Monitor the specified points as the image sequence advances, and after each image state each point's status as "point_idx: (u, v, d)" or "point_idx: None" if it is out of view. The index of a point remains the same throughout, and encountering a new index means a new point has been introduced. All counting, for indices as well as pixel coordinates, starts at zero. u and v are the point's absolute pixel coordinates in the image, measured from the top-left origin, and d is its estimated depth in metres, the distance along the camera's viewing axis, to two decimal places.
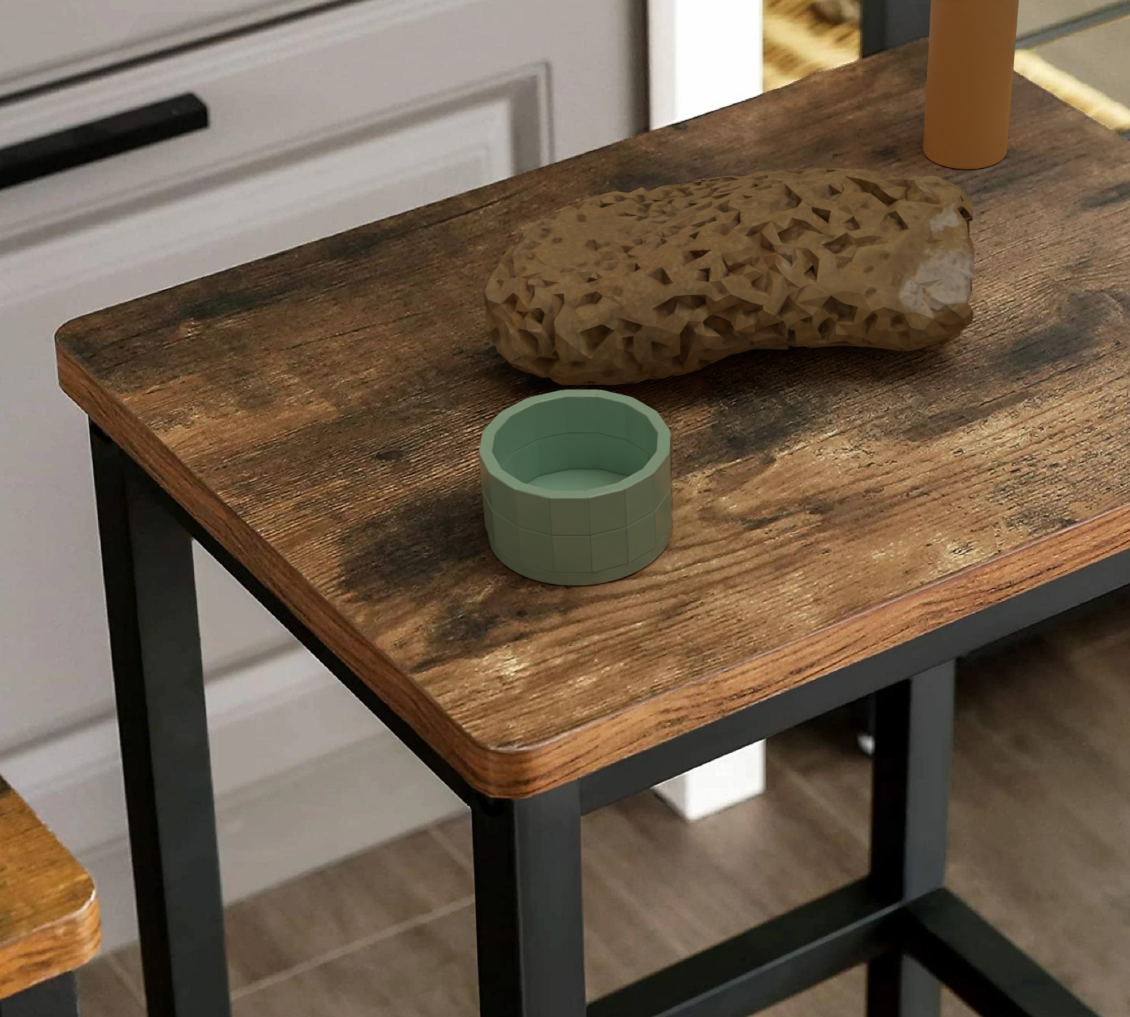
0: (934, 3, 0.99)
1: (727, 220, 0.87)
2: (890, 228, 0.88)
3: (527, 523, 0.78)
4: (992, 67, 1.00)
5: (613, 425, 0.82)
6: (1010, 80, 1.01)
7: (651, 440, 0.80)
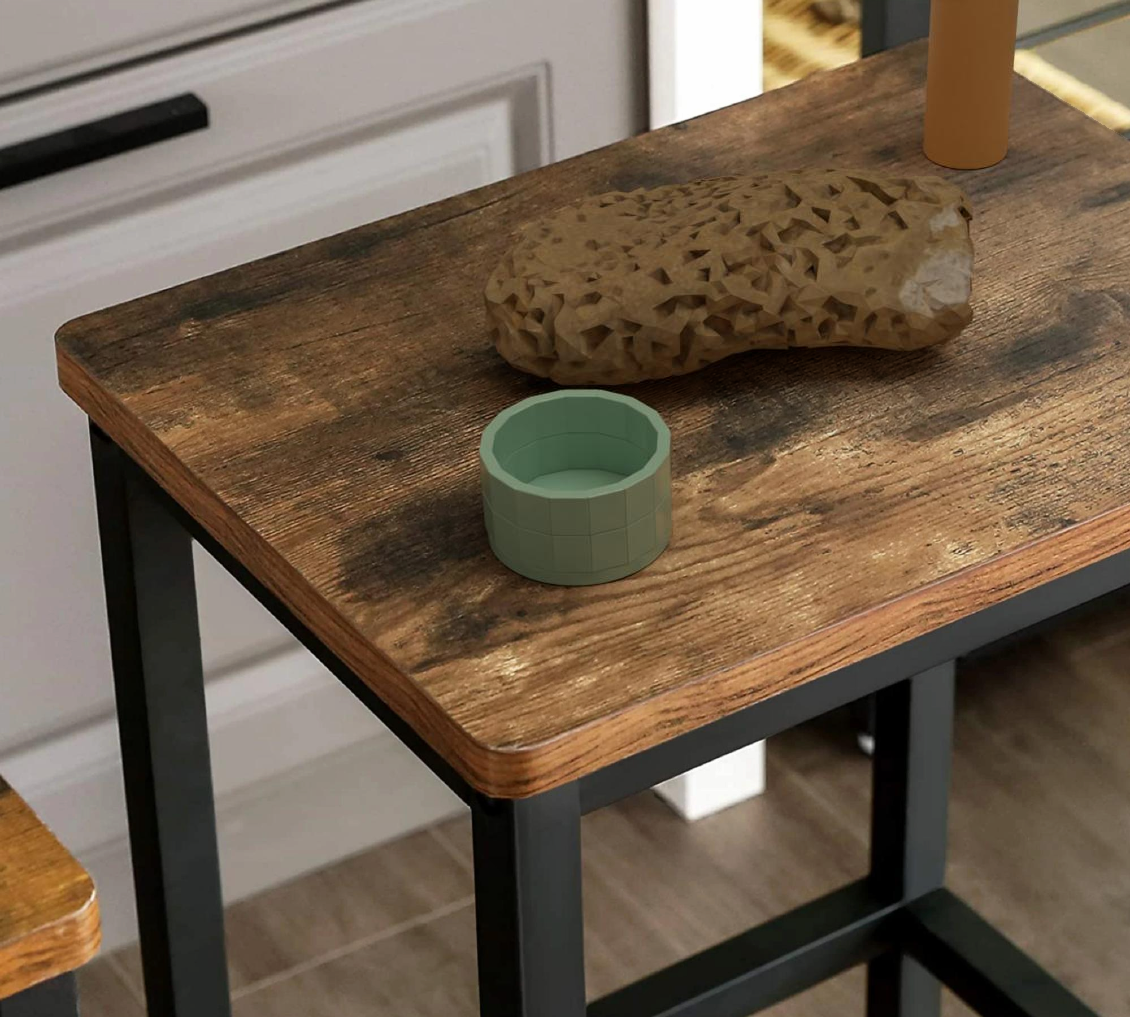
0: (934, 3, 0.99)
1: (727, 220, 0.87)
2: (890, 228, 0.88)
3: (527, 523, 0.78)
4: (992, 67, 1.00)
5: (613, 425, 0.82)
6: (1010, 80, 1.01)
7: (651, 440, 0.80)
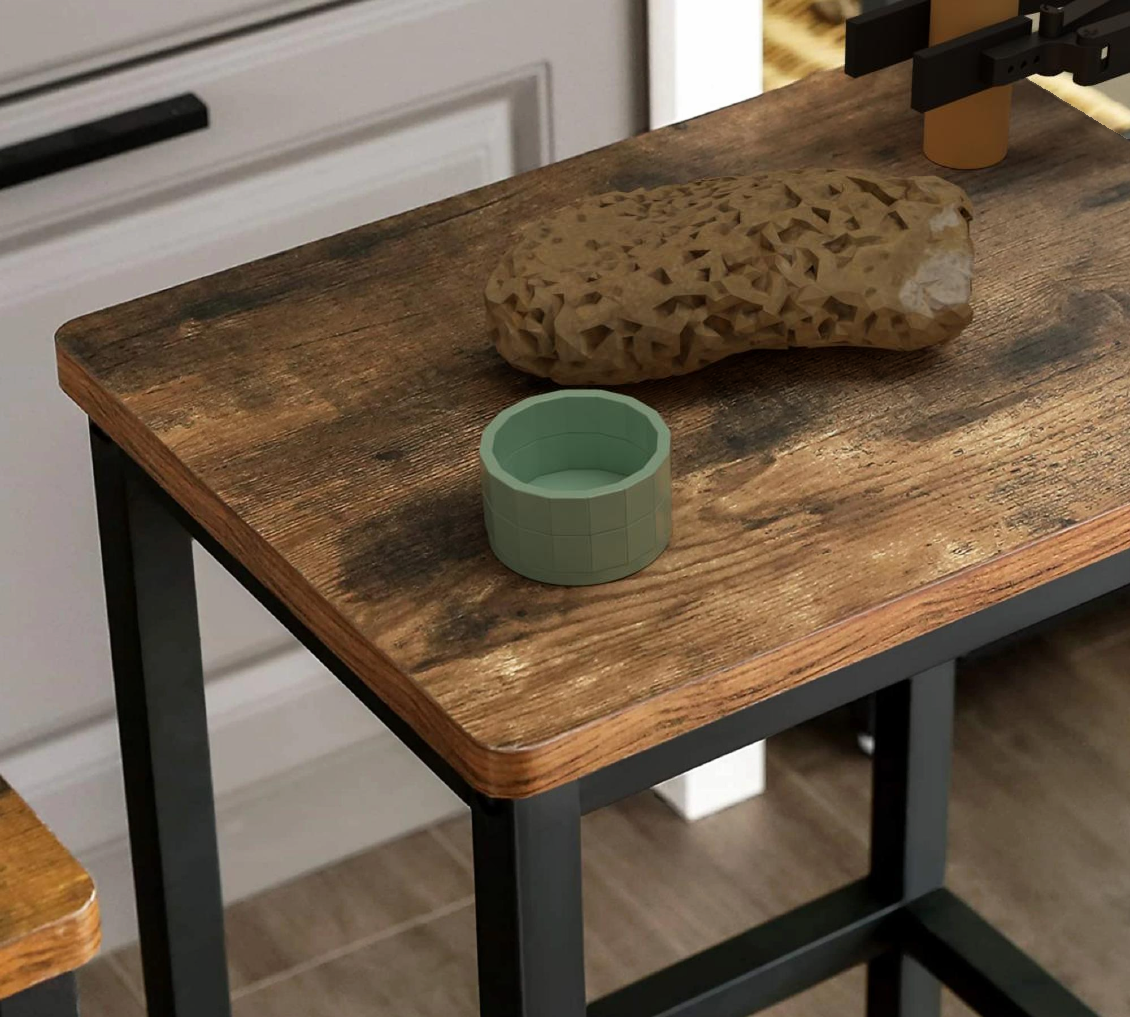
0: (934, 3, 0.99)
1: (727, 220, 0.87)
2: (890, 228, 0.88)
3: (527, 523, 0.78)
4: None
5: (613, 425, 0.82)
6: None
7: (651, 440, 0.80)
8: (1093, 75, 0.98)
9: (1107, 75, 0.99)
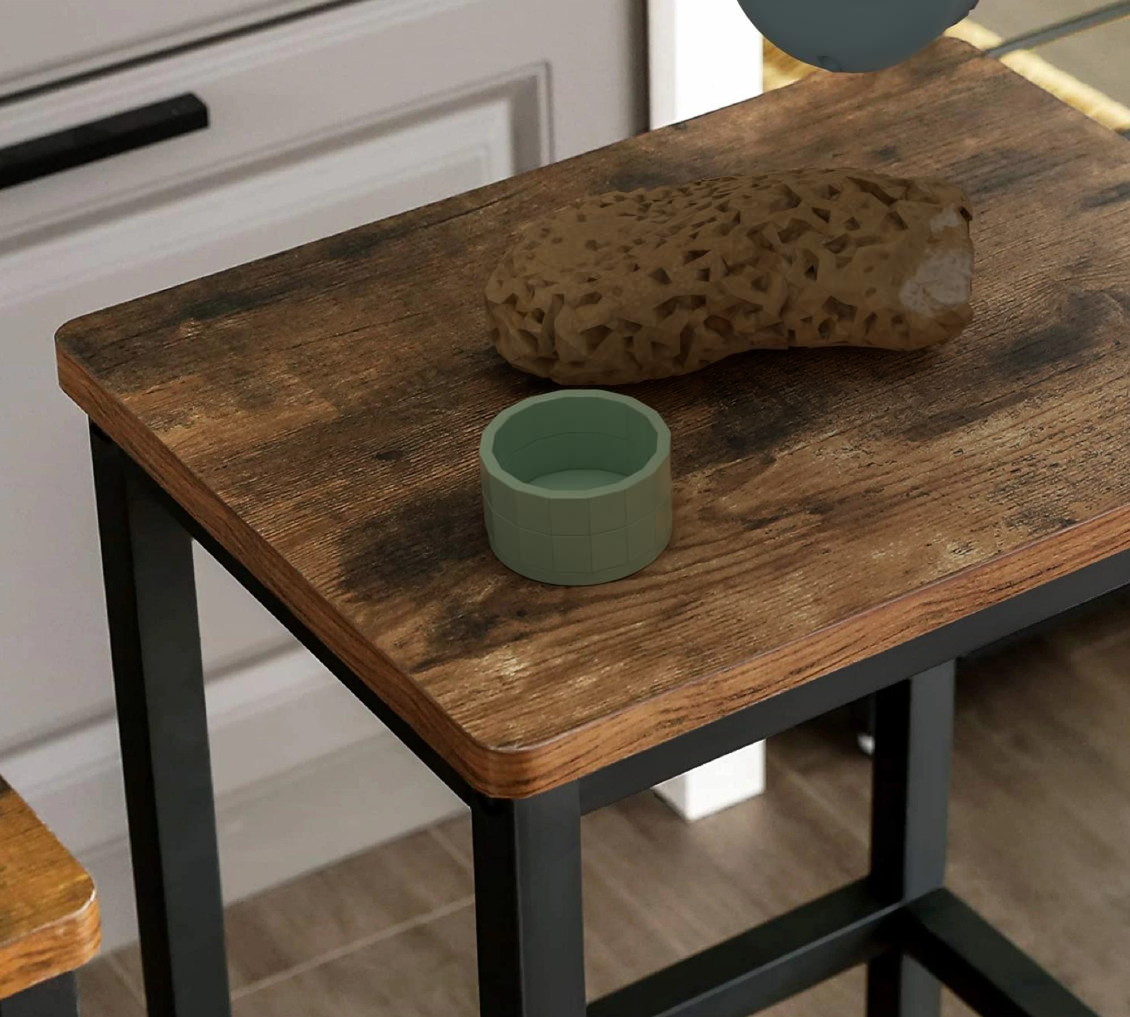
0: None
1: (727, 220, 0.87)
2: (890, 228, 0.88)
3: (527, 523, 0.78)
4: None
5: (613, 425, 0.82)
6: None
7: (651, 440, 0.80)
8: None
9: None
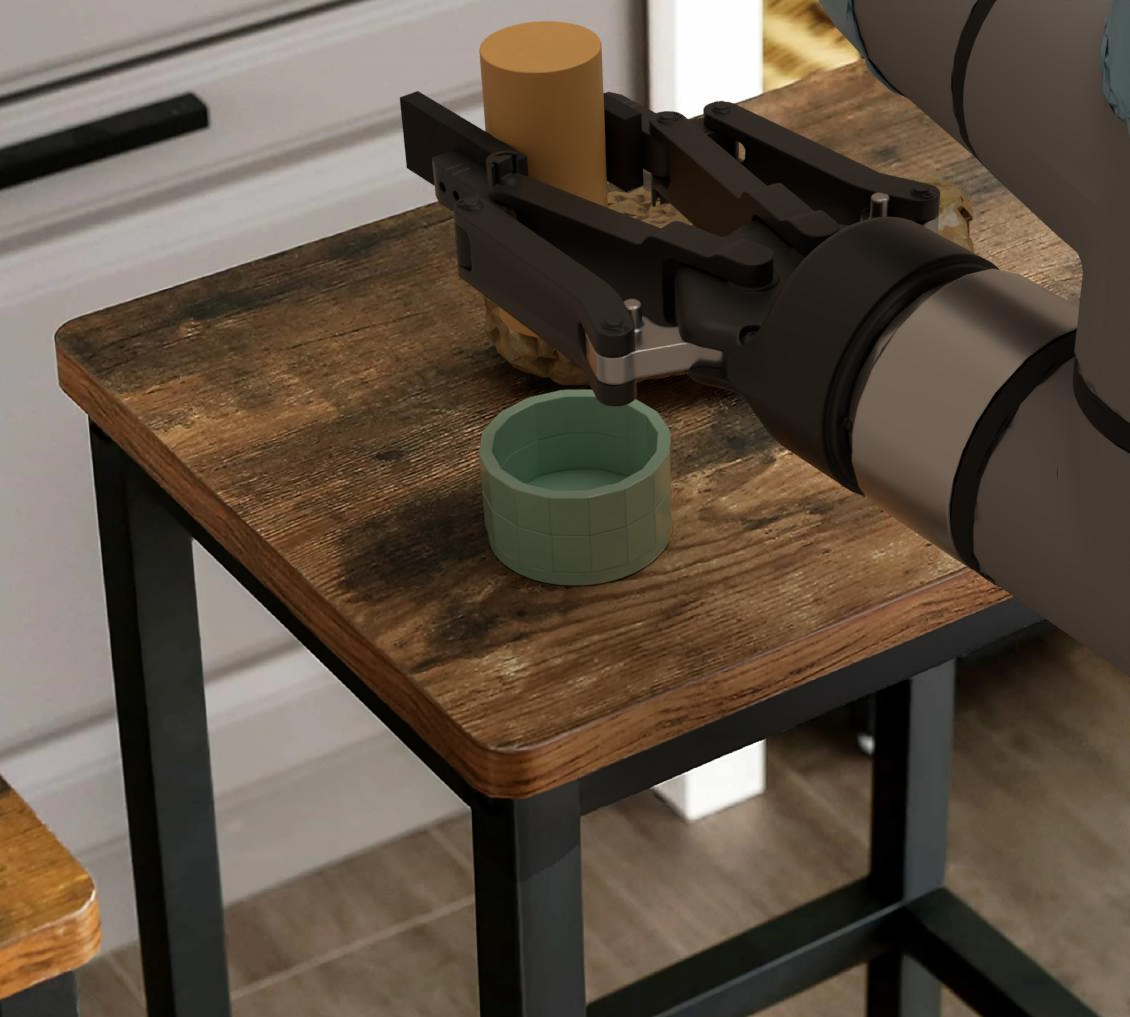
0: None
1: None
2: None
3: (527, 523, 0.78)
4: None
5: (613, 425, 0.82)
6: None
7: (651, 440, 0.80)
8: (459, 263, 0.69)
9: (473, 280, 0.68)
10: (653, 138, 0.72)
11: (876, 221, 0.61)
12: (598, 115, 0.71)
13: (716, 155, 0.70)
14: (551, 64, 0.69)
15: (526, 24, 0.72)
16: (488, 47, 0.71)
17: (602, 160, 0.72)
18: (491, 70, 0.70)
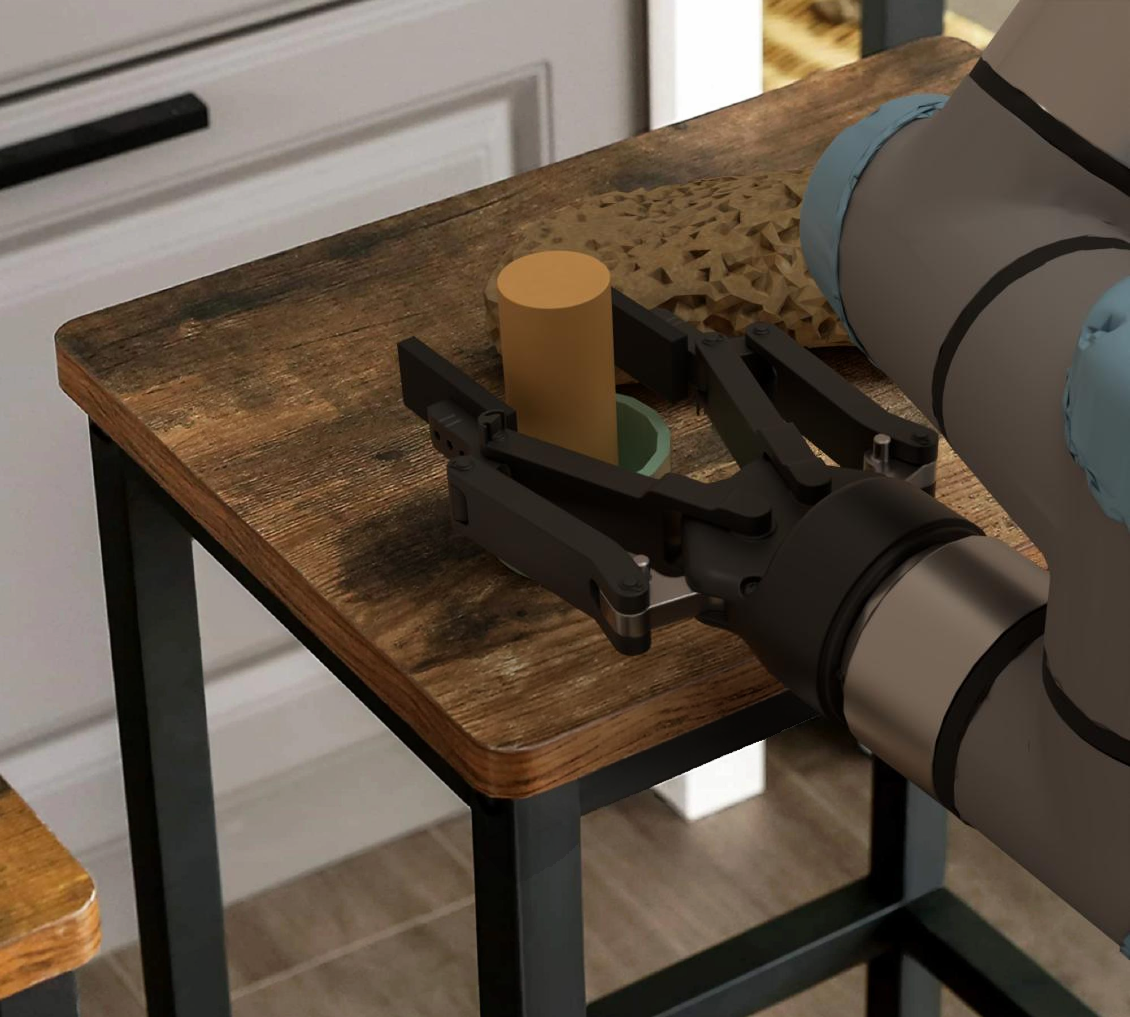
0: None
1: (727, 220, 0.87)
2: None
3: None
4: None
5: None
6: None
7: (651, 440, 0.80)
8: (453, 517, 0.73)
9: (469, 533, 0.73)
10: (697, 357, 0.78)
11: (866, 483, 0.66)
12: (607, 341, 0.76)
13: (746, 384, 0.75)
14: (564, 299, 0.74)
15: (540, 254, 0.77)
16: (504, 280, 0.76)
17: (611, 380, 0.77)
18: (507, 303, 0.75)
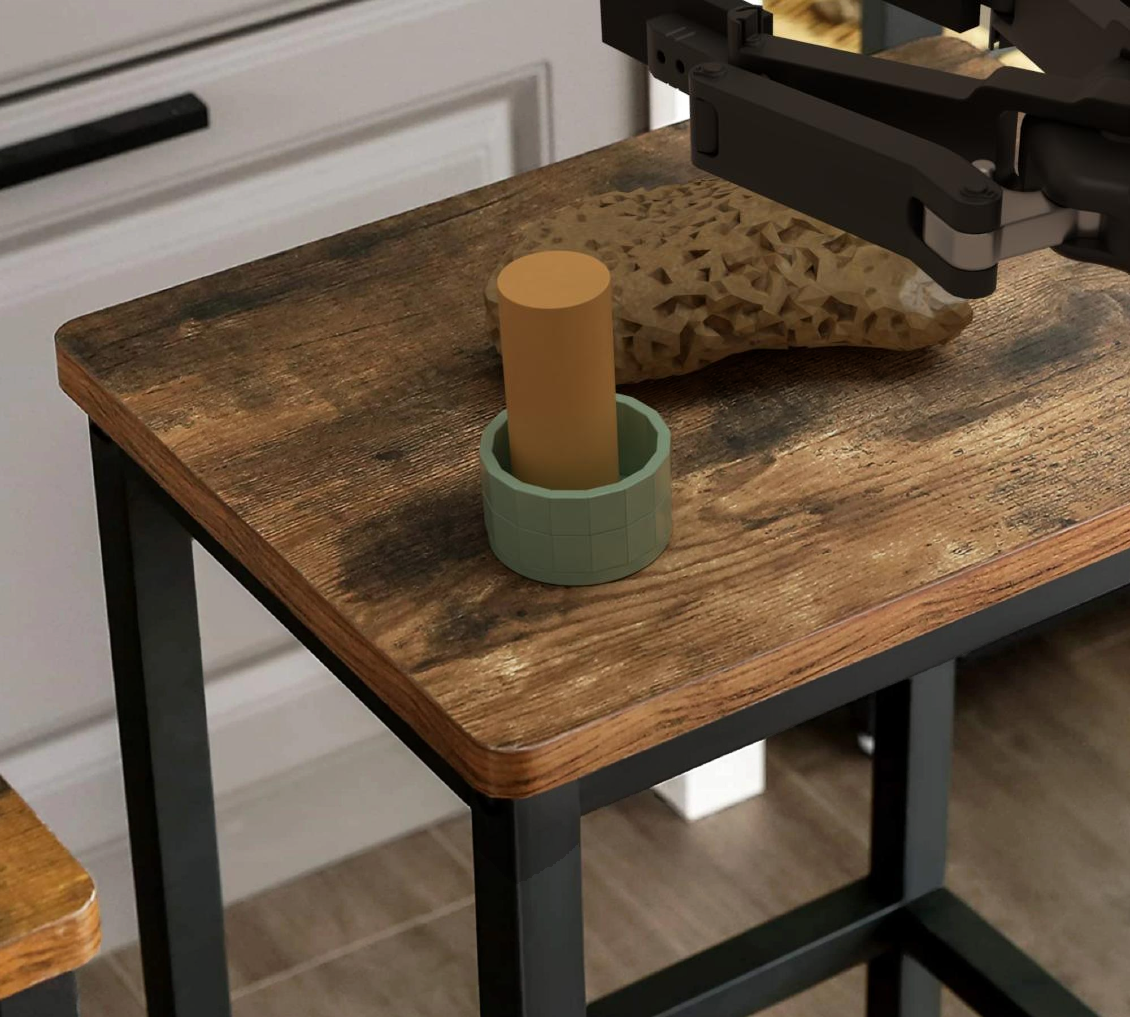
0: None
1: (727, 220, 0.87)
2: None
3: (527, 523, 0.78)
4: (509, 407, 0.78)
5: None
6: (538, 448, 0.78)
7: (651, 440, 0.80)
8: (695, 148, 0.54)
9: (719, 167, 0.54)
10: None
11: None
12: (607, 341, 0.76)
13: None
14: (564, 299, 0.74)
15: (540, 254, 0.77)
16: (504, 280, 0.76)
17: (611, 380, 0.77)
18: (507, 303, 0.75)
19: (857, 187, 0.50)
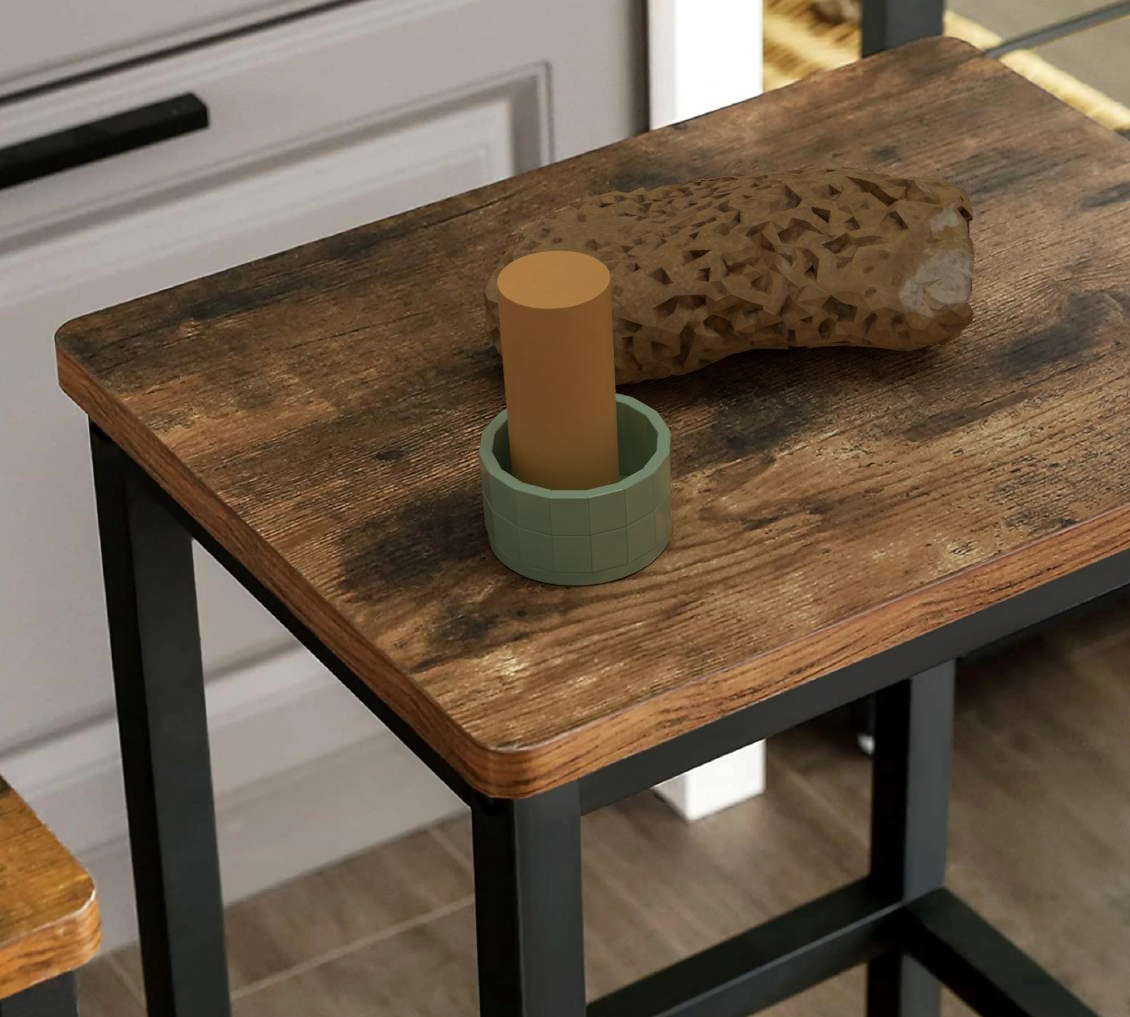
0: None
1: (727, 220, 0.87)
2: (890, 228, 0.88)
3: (527, 523, 0.78)
4: (509, 407, 0.78)
5: None
6: (538, 448, 0.78)
7: (651, 440, 0.80)
8: None
9: None
10: None
11: None
12: (607, 341, 0.76)
13: None
14: (564, 299, 0.74)
15: (540, 254, 0.77)
16: (504, 280, 0.76)
17: (611, 380, 0.77)
18: (507, 303, 0.75)
19: None
